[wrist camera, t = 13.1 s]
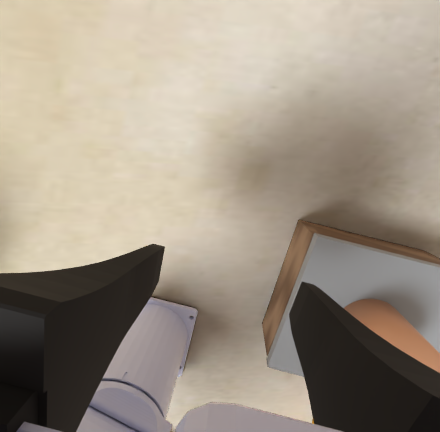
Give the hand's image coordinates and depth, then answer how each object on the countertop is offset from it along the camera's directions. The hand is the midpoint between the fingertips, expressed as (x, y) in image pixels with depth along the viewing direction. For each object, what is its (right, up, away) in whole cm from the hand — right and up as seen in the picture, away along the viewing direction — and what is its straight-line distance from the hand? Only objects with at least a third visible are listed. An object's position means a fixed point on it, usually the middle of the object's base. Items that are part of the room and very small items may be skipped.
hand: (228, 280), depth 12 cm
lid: (+11, -5, +7) cm, 14 cm away
